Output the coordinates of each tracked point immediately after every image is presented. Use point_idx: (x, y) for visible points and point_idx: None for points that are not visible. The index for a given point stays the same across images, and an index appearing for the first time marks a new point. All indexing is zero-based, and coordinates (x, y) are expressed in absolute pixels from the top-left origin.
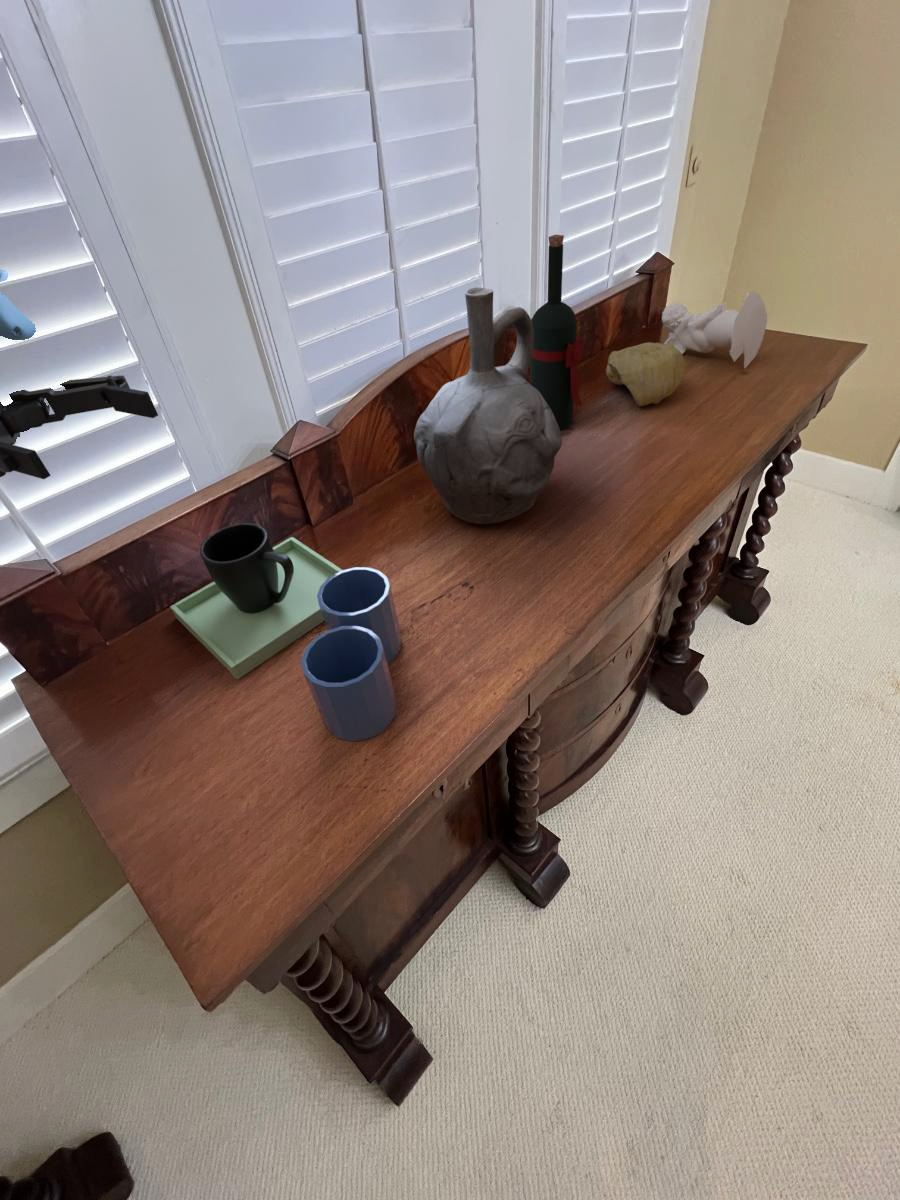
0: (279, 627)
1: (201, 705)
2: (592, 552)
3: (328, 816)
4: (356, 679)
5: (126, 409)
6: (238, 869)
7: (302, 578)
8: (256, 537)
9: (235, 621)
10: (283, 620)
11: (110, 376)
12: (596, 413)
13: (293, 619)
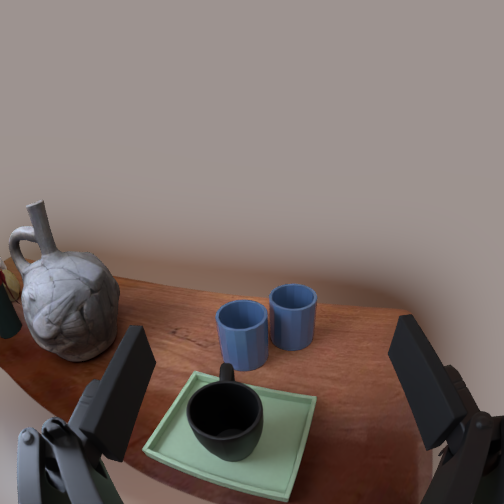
0: None
1: (347, 407)
2: (140, 295)
3: (345, 318)
4: (302, 285)
5: (131, 417)
6: (386, 328)
7: None
8: (193, 417)
9: (267, 443)
10: None
11: (47, 424)
12: None
13: None
